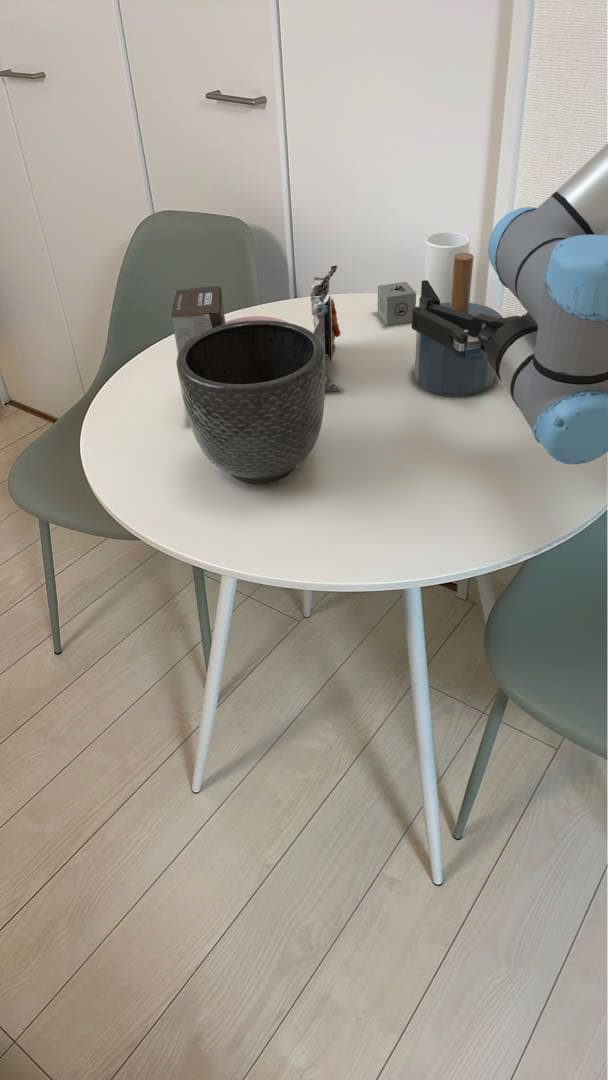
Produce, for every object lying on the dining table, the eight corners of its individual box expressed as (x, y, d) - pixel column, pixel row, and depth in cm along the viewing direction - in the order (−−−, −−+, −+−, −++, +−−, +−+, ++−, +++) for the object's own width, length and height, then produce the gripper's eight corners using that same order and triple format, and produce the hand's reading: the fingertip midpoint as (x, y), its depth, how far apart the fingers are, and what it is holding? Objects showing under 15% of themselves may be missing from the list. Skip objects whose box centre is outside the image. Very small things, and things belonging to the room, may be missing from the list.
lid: (487, 305, 112) (494, 235, 105) (514, 342, 102) (525, 268, 96) (405, 313, 111) (407, 244, 105) (425, 351, 102) (429, 278, 95)
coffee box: (234, 421, 106) (220, 312, 95) (189, 425, 106) (170, 317, 95) (234, 389, 113) (221, 284, 102) (191, 392, 113) (174, 288, 102)
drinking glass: (441, 345, 120) (448, 250, 110) (411, 332, 124) (415, 239, 114) (470, 331, 123) (480, 238, 113) (440, 319, 127) (446, 228, 117)
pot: (474, 347, 119) (480, 295, 113) (509, 401, 106) (517, 345, 100) (403, 355, 118) (405, 303, 112) (430, 410, 105) (433, 354, 100)
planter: (186, 443, 102) (165, 333, 92) (307, 418, 105) (301, 309, 95) (209, 518, 90) (188, 400, 79) (346, 488, 93) (344, 371, 82)
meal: (343, 391, 110) (341, 306, 102) (314, 393, 111) (310, 307, 102) (339, 345, 122) (337, 264, 113) (312, 346, 122) (309, 266, 113)
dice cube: (415, 321, 127) (416, 292, 124) (386, 326, 126) (387, 297, 123) (405, 309, 131) (406, 281, 127) (377, 314, 130) (377, 285, 127)
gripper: (416, 404, 83) (380, 322, 99) (635, 380, 84) (564, 304, 101) (419, 341, 78) (381, 266, 94) (651, 317, 80) (574, 247, 96)
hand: (475, 285), depth 97 cm, fingers open, 13 cm apart
